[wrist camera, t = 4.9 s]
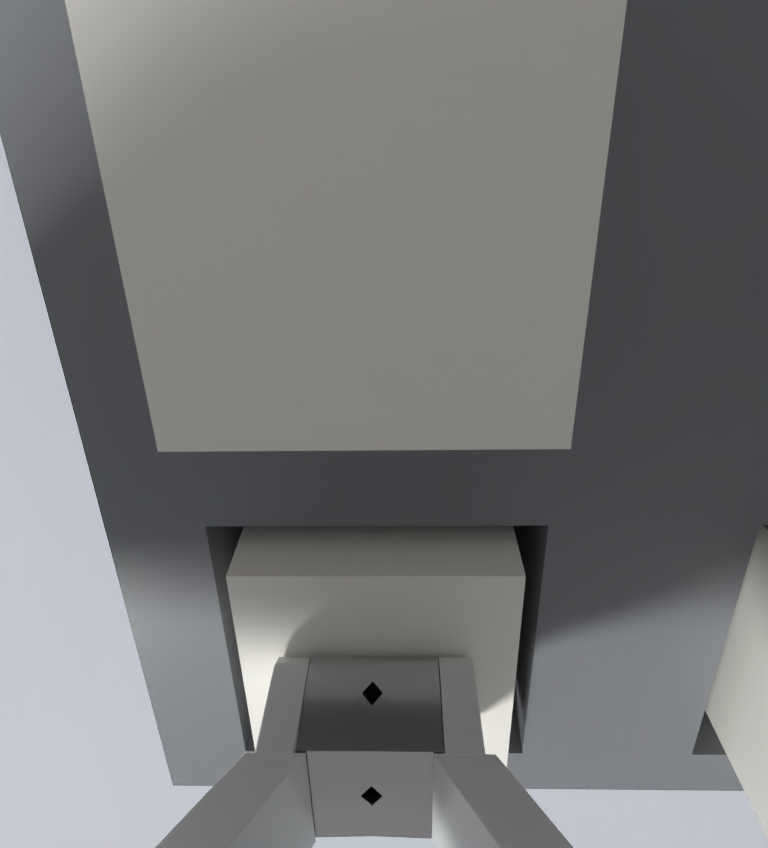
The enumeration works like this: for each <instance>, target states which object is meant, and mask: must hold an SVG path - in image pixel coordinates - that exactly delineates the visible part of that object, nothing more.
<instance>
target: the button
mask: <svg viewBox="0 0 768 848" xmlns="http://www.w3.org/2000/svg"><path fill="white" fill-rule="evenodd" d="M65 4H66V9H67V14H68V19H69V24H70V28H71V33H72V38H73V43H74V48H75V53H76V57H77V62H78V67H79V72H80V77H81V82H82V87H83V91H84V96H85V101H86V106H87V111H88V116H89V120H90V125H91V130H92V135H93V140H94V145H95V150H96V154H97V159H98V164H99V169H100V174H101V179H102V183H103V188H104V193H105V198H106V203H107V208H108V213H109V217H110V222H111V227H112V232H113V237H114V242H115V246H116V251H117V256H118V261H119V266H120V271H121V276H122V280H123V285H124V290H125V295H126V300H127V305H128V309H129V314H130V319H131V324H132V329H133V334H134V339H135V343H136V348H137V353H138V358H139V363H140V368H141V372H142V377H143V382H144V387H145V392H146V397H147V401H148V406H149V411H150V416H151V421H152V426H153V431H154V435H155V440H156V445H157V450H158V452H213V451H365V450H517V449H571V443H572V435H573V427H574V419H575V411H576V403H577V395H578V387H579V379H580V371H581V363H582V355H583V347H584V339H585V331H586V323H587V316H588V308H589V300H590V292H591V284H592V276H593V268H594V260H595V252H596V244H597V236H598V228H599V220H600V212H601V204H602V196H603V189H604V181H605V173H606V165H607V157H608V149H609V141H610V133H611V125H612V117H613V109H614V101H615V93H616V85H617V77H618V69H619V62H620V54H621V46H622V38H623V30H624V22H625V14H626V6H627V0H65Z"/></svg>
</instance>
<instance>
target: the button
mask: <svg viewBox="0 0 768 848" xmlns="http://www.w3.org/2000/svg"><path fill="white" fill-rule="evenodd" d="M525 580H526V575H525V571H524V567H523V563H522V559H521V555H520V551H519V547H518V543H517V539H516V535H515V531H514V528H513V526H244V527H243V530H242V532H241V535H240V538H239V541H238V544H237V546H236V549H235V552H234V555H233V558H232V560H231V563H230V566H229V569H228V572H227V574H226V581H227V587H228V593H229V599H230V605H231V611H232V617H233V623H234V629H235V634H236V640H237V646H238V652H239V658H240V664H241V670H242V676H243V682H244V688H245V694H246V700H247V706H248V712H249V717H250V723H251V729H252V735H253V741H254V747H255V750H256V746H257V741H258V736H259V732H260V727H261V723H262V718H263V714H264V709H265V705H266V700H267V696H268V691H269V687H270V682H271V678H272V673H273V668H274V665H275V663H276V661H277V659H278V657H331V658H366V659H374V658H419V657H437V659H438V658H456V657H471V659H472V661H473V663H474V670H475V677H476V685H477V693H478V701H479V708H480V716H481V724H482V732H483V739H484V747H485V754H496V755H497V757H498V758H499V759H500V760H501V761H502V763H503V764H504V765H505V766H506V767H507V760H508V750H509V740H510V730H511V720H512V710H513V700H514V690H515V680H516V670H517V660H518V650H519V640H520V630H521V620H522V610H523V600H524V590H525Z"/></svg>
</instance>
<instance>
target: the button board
mask: <svg viewBox="0 0 768 848" xmlns="http://www.w3.org/2000/svg"><path fill="white" fill-rule="evenodd" d="M0 135H1V139H2V142H3V146H4V150H5V154H6V157H7V161H8V165H9V169H10V172H11V176H12V180H13V184H14V188H15V191H16V195H17V199H18V203H19V206H20V210H21V214H22V218H23V221H24V225H25V229H26V233H27V237H28V240H29V244H30V248H31V252H32V255H33V259H34V263H35V267H36V270H37V274H38V278H39V282H40V286H41V289H42V293H43V297H44V301H45V304H46V308H47V312H48V316H49V319H50V323H51V327H52V331H53V335H54V338H55V342H56V346H57V350H58V353H59V357H60V361H61V365H62V368H63V372H64V376H65V380H66V383H67V387H68V391H69V395H70V399H71V402H72V406H73V410H74V414H75V417H76V421H77V425H78V429H79V432H80V436H81V440H82V444H83V448H84V451H85V455H86V459H87V463H88V466H89V470H90V474H91V478H92V481H93V485H94V489H95V493H96V497H97V500H98V504H99V508H100V512H101V515H102V519H103V523H104V527H105V530H106V534H107V538H108V542H109V546H110V549H111V553H112V557H113V561H114V564H115V568H116V572H117V576H118V579H119V583H120V587H121V591H122V594H123V598H124V602H125V606H126V610H127V613H128V617H129V621H130V625H131V628H132V632H133V636H134V640H135V643H136V647H137V651H138V655H139V659H140V662H141V666H142V670H143V674H144V677H145V681H146V685H147V689H148V692H149V696H150V700H151V704H152V708H153V711H154V715H155V719H156V723H157V726H158V730H159V734H160V738H161V741H162V745H163V749H164V753H165V756H166V760H167V764H168V768H169V772H170V775H171V779H172V783H173V785H182V786H214V785H215V784H216V783H217V782H218V781H219V780H220V779H221V778H222V776H223V775H224V774H225V773H226V772H227V771H228V770H229V769H230V768H231V767H232V766H233V765H234V764H235V763H236V762H237V761H238V759H239V758H240V757H241V756H242V755H243V754H244V753H254V752H255V747H254V741H253V735H252V729H251V723H250V717H249V712H248V706H247V700H246V694H245V688H244V682H243V676H242V670H241V664H240V658H239V652H238V646H237V640H236V634H235V629H234V623H233V617H232V611H231V605H230V599H229V593H228V587H227V581H226V574H227V572H228V569H229V566H230V563H231V560H232V558H233V555H234V552H235V549H236V546H237V544H238V541H239V538H240V535H241V532H242V530H243V527H244V526H513V528H514V531H515V535H516V539H517V543H518V547H519V551H520V555H521V559H522V563H523V567H524V571H525V575H526V580H525V590H524V600H523V610H522V620H521V630H520V640H519V650H518V660H517V670H516V680H515V690H514V700H513V710H512V720H511V730H510V740H509V750H508V760H507V769H508V770H509V771H510V772H511V773H512V775H513V776H514V777H515V778H516V779H517V781H518V782H519V783H520V784H521V785H522V787H523V788H524V789H614V790H722V791H744V789H743V787H742V785H741V783H740V781H739V779H738V777H737V775H736V773H735V771H734V769H733V767H732V765H731V763H730V760H729V758H728V756H727V754H726V752H725V750H724V748H723V746H722V744H721V742H720V740H719V738H718V736H717V734H716V732H715V730H714V728H713V726H712V724H711V721H710V719H709V717H708V715H707V713H706V711H705V708H706V705H707V702H708V698H709V695H710V691H711V688H712V685H713V681H714V678H715V675H716V671H717V668H718V664H719V661H720V658H721V654H722V651H723V648H724V644H725V641H726V637H727V634H728V631H729V627H730V624H731V621H732V617H733V614H734V610H735V607H736V604H737V600H738V597H739V594H740V590H741V587H742V583H743V580H744V577H745V573H746V570H747V566H748V563H749V560H750V556H751V553H752V550H753V546H754V543H755V539H756V536H757V533H758V529H759V526H760V525H768V0H627V6H626V14H625V22H624V30H623V38H622V46H621V54H620V62H619V69H618V77H617V85H616V93H615V101H614V109H613V117H612V125H611V133H610V141H609V149H608V157H607V165H606V173H605V181H604V189H603V196H602V204H601V212H600V220H599V228H598V236H597V244H596V252H595V260H594V268H593V276H592V284H591V292H590V300H589V308H588V316H587V323H586V331H585V339H584V347H583V355H582V363H581V371H580V379H579V387H578V395H577V403H576V411H575V419H574V427H573V435H572V443H571V449H517V450H365V451H213V452H158V450H157V445H156V440H155V435H154V431H153V426H152V421H151V416H150V411H149V406H148V401H147V397H146V392H145V387H144V382H143V377H142V372H141V368H140V363H139V358H138V353H137V348H136V343H135V339H134V334H133V329H132V324H131V319H130V314H129V309H128V305H127V300H126V295H125V290H124V285H123V280H122V276H121V271H120V266H119V261H118V256H117V251H116V246H115V242H114V237H113V232H112V227H111V222H110V217H109V213H108V208H107V203H106V198H105V193H104V188H103V183H102V179H101V174H100V169H99V164H98V159H97V154H96V150H95V145H94V140H93V135H92V130H91V125H90V120H89V116H88V111H87V106H86V101H85V96H84V91H83V87H82V82H81V77H80V72H79V67H78V62H77V57H76V53H75V48H74V43H73V38H72V33H71V28H70V24H69V19H68V14H67V9H66V4H65V0H0Z"/></svg>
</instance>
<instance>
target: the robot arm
mask: <svg viewBox="0 0 768 848" xmlns="http://www.w3.org/2000/svg"><path fill="white" fill-rule="evenodd" d="M351 836H384V837H409V838H432V843H433V845H434V846H435V848H573V847H572V846H571V844H570V843H569V842H568V841H567V840H566V838H565V837H564V836H563V835H562V834H561V832H560V831H559V830H558V829H557V828H556V826H555V825H554V824H553V823H552V822H551V820H550V819H549V818H548V817H547V816H546V814H545V813H544V812H543V811H542V810H541V808H540V807H539V806H538V805H537V804H536V802H535V801H534V800H533V799H532V797H531V796H530V795H529V794H528V793H527V791H526V790H525V789H524V788H523V787H522V785H521V784H520V783H519V782H518V781H517V779H516V778H515V777H514V776H513V775H512V773H511V772H510V771H509V770H508V769H507V767H506V766H505V765H504V764H503V763H502V761H501V760H500V759H499V758H498V757H497V755H496V754H485V747H484V739H483V732H482V724H481V716H480V708H479V701H478V693H477V685H476V677H475V670H474V663H473V661H472V659H471V657H456V658H438V659H437V657H419V658H374V659H366V658H331V657H278V659H277V661H276V663H275V665H274V668H273V673H272V678H271V682H270V687H269V691H268V696H267V700H266V705H265V709H264V714H263V718H262V723H261V727H260V732H259V736H258V741H257V746H256V750H255V752H254V753H244V754H243V755H242V756H241V757H240V758H239V759H238V761H237V762H236V763H235V764H234V765H233V766H232V767H231V768H230V769H229V770H228V771H227V772H226V773H225V774H224V775H223V776H222V778H221V779H220V780H219V781H218V782H217V783H216V784H215V785H214V786H213V787H212V788H211V789H210V790H209V791H208V792H207V793H206V795H205V796H204V797H203V798H202V799H201V800H200V801H199V802H198V803H197V804H196V805H195V806H194V807H193V808H192V809H191V810H190V811H189V813H188V814H187V815H186V816H185V817H184V818H183V819H182V820H181V821H180V822H179V823H178V824H177V825H176V826H175V827H174V828H173V830H172V831H171V832H170V833H169V834H168V835H167V836H166V837H165V838H164V839H163V840H162V841H161V842H160V843H159V844H158V845H157V846H156V848H312V846H313V845H314V843H315V842H316V841H315V837H351Z"/></svg>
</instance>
